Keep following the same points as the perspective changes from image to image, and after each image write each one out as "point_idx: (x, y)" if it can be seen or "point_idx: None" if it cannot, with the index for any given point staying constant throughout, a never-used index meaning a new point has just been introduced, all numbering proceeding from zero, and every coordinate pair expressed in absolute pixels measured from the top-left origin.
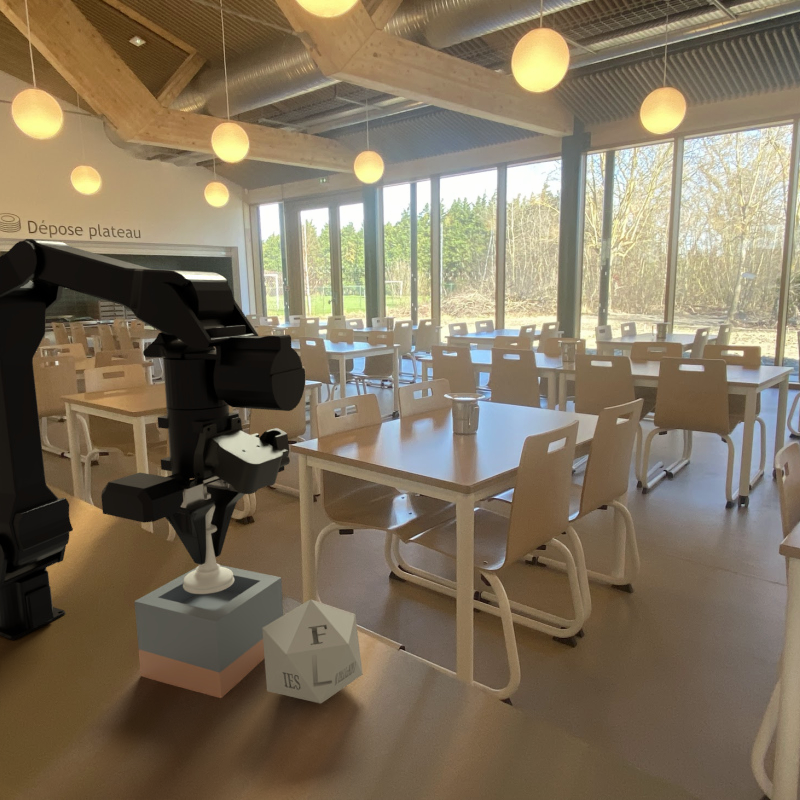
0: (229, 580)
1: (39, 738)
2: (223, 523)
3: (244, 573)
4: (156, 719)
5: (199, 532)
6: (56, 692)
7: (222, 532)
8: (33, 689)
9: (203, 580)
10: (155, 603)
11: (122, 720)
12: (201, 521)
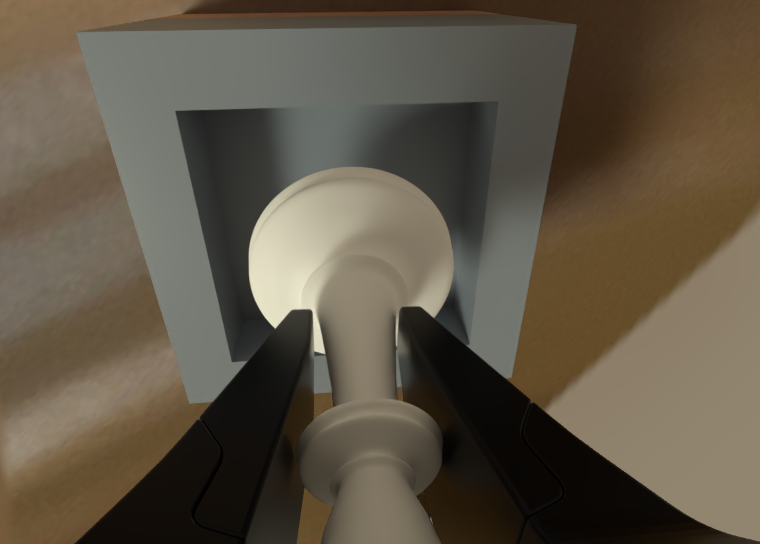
0: (336, 179)
1: (657, 260)
2: (270, 428)
3: (168, 226)
4: (572, 110)
5: (535, 425)
6: (542, 339)
7: (280, 382)
8: (544, 373)
9: (418, 256)
10: (508, 321)
11: (589, 173)
12: (572, 494)
